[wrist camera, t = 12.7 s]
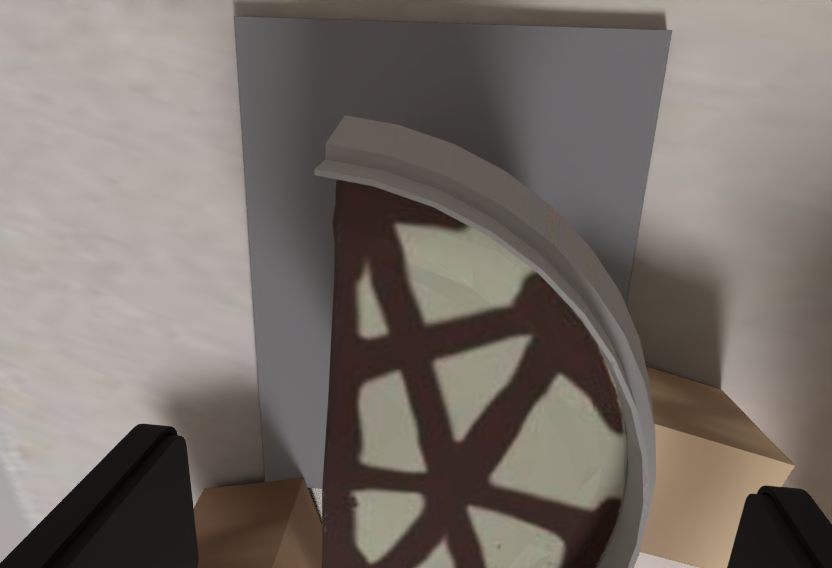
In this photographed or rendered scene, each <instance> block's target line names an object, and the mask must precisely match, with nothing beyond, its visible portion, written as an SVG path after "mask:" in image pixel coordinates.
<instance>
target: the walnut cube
mask: <svg viewBox="0 0 832 568" xmlns="http://www.w3.org/2000/svg"><path fill="white" fill-rule="evenodd" d="M194 518H195V527H196V536H197V545H198V554H199V562H198V568H322V538H323V527H322V524H321V522H320V519H319V516H318V514H317V511H316V509H315V506H314V503H313V501H312V498H311V496H310V493H309V490H308V488H307V485H306V483H305V480H304V478H297V479H288V480H279V481H270V482H261V483H253V484H244V485H235V486H226V487H217V488H208V489H204V491H203V492H202V494H201V496H200V498H199V500H198V502H197V503H196V505H195V507H194Z"/></svg>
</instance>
